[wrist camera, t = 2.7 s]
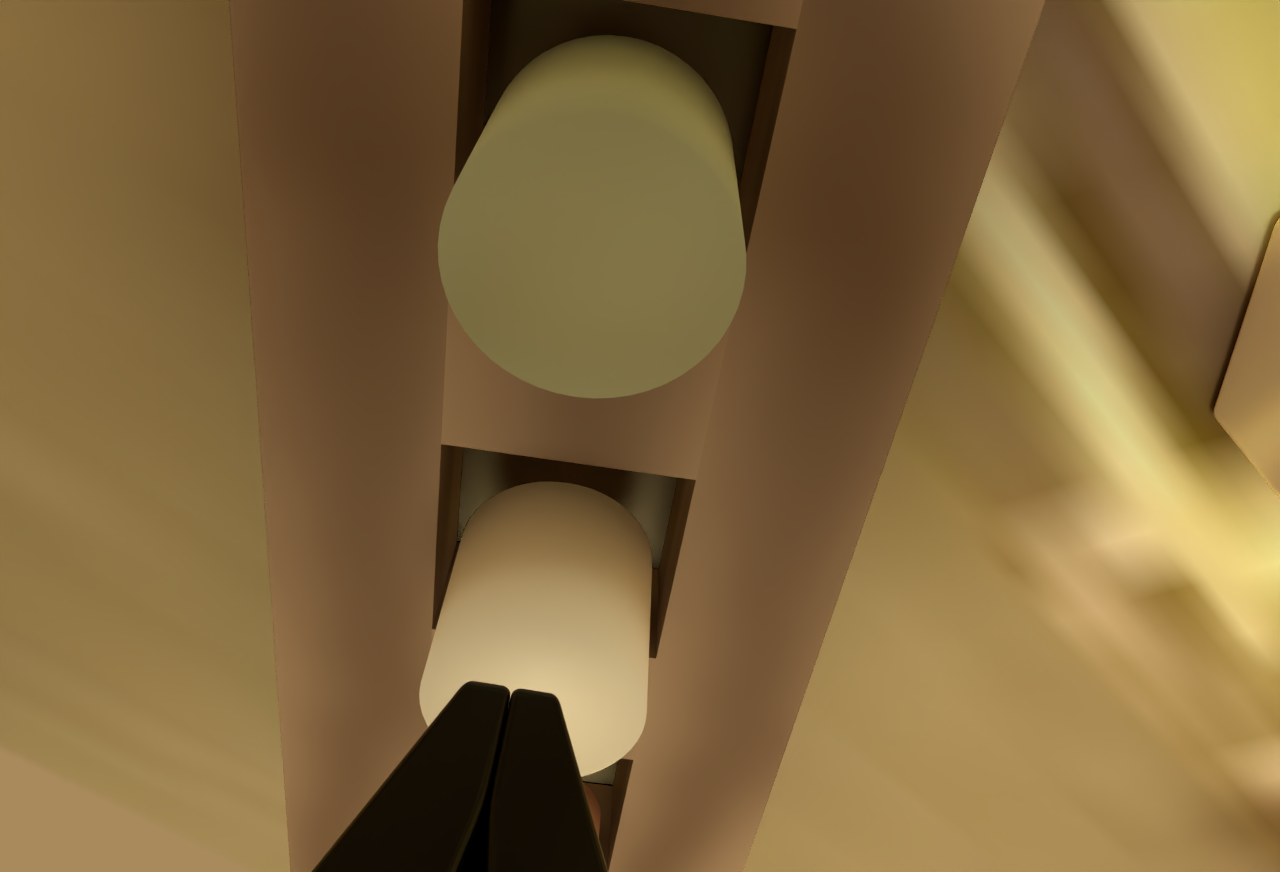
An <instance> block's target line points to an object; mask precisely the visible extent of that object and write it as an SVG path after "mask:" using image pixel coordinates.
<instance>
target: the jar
mask: <svg viewBox="0 0 1280 872" xmlns="http://www.w3.org/2000/svg"><path fill="white" fill-rule="evenodd" d="M1214 416H1215V418H1216V420H1217V421H1218V423H1219V424H1220V425H1221V426H1222V428H1223V429H1224V430H1225V431H1226V433H1227V434H1228V435H1229V436H1230V438H1231V439H1232V440H1233V441H1234V442H1235V444H1236V445H1237V446H1238V447H1239V449H1240V450H1241V451H1242V452H1243V454H1244V455H1245V456H1246V457H1247V459H1248V460H1249V461H1250V462H1251V464H1252V465H1253V466H1254V467H1255V469H1256V470H1257V471H1258V472H1259V474H1260V475H1261V476H1262V477H1263V479H1264V480H1265V481H1266V482H1267V484H1268V485H1269V486H1270V487H1271V489H1272V490H1273V491H1274V492H1275V494H1276V495H1277V496H1278V497H1279V499H1280V218H1279V219H1278V221H1277V222H1276V224H1275V226H1274V229H1273V232H1272V235H1271V238H1270V241H1269V244H1268V247H1267V250H1266V253H1265V256H1264V259H1263V262H1262V265H1261V269H1260V272H1259V275H1258V278H1257V281H1256V284H1255V287H1254V290H1253V293H1252V296H1251V299H1250V302H1249V305H1248V308H1247V311H1246V314H1245V317H1244V320H1243V323H1242V326H1241V329H1240V332H1239V335H1238V338H1237V341H1236V344H1235V347H1234V350H1233V353H1232V356H1231V359H1230V362H1229V365H1228V368H1227V371H1226V374H1225V377H1224V380H1223V383H1222V386H1221V389H1220V392H1219V395H1218V398H1217V401H1216V404H1215V407H1214Z"/></svg>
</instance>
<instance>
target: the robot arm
mask: <svg viewBox="0 0 1280 872" xmlns="http://www.w3.org/2000/svg"><path fill="white" fill-rule="evenodd" d="M311 872H608V869H607V866H606V862H605V859H604V855H603V852H602V848H601V845H600V841H599V838H598V834H597V831H596V827H595V824H594V820H593V817H592V813H591V810H590V806H589V803H588V799H587V796H586V792H585V789H584V785H583V782H582V778H581V775H580V771H579V768H578V764H577V761H576V757H575V754H574V750H573V747H572V743H571V740H570V736H569V733H568V729H567V726H566V722H565V719H564V715H563V712H562V708H561V705H560V702H559V700H558V698H557V697H556V696H555V695H554V694H552V693H547V692H541V691H534V690H528V689H522V688H520V689H516V690H514V691H513V692H512V694H511V697H510V691H509V689H508V688H507V687H505V686H503V685H497V684H490V683H484V682H478V681H469V682H466V683H465V684H464V685H462V686H461V687H460V689H459V690H458V691H457V692H456V693H455V695H454V696H453V697H452V698H451V700H450V701H449V702H448V703H447V704H446V706H445V707H444V708H443V709H442V711H441V712H440V713H439V714H438V716H437V717H436V718H435V719H434V721H433V722H432V723H431V724H430V725H429V727H428V728H427V729H426V730H425V732H424V733H423V734H422V735H421V737H420V738H419V739H418V740H417V742H416V743H415V744H414V745H413V746H412V748H411V749H410V750H409V751H408V753H407V754H406V755H405V756H404V758H403V759H402V760H401V761H400V763H399V764H398V765H397V766H396V767H395V769H394V770H393V771H392V772H391V774H390V775H389V776H388V777H387V779H386V780H385V781H384V782H383V784H382V785H381V786H380V787H379V788H378V790H377V791H376V792H375V793H374V795H373V796H372V797H371V798H370V800H369V801H368V802H367V803H366V805H365V806H364V807H363V808H362V809H361V811H360V812H359V813H358V814H357V816H356V817H355V818H354V819H353V821H352V822H351V823H350V824H349V826H348V827H347V828H346V829H345V830H344V832H343V833H342V834H341V835H340V837H339V838H338V839H337V840H336V842H335V843H334V844H333V845H332V847H331V848H330V849H329V850H328V851H327V853H326V854H325V855H324V856H323V858H322V859H321V860H320V861H319V863H318V864H317V865H316V866H315V868H314V869H313V870H312V871H311Z"/></svg>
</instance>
